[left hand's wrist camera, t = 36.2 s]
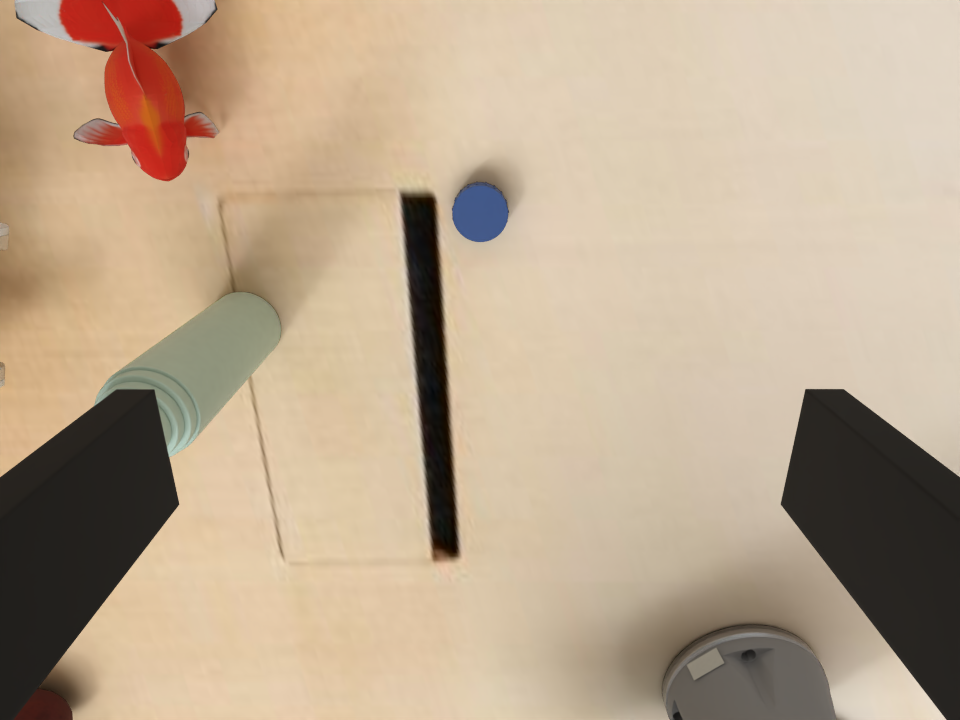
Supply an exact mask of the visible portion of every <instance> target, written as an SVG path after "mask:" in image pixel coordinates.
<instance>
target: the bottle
mask: <svg viewBox="0 0 960 720" xmlns="http://www.w3.org/2000/svg"><path fill="white" fill-rule="evenodd" d="M280 336H281V324H280V320H279V317H278V315H277V313H276V312H275V310H274V309H273V307H272V306H271V305H270V304H269V303H268V302H267V301H265V300H264V299H262V298H261V297H259V296H257V295H254V294H251V293H247V292H234V293H230V294H227V295H225V296H223V297H222V298H220V299H219V300H218V301H216V302H215V303H213V304H212V305H211V306H209V307H208V308H206V309H205V310H204V311H202V312H201V313H199V314H198V315H197V316H195V317H194V318H192V319H191V320H190V321H188V322H187V323H185V324H184V325H183V326H181V327H180V328H178V329H177V330H175V331H174V332H173V333H171V334H170V335H168V336H167V337H166V338H164V339H163V340H161V341H160V342H159V343H157V344H156V345H154V346H153V347H152V348H150V349H149V350H147V351H146V352H145V353H143V354H142V355H140V356H139V357H138V358H136V359H135V360H133V361H132V362H131V363H129V364H128V365H126V366H125V367H123V368H122V369H121V370H119V371H118V372H116V373H115V374H114V375H112V376H111V377H110V378H109V379H108V380H107V382H106V383H105V385H104V386H103V387H102V389H101V390H100V391H99V393H98V395H97V398H96V401H95V405H96V404H98V403H99V402H100V401H102V400H103V399H104V398H106V397H107V396H108V395H110V394H111V393H112V392H114V391H115V390H116V389H155V394H156V399H157V403H158V408H159V413H160V417H161V422H162V427H163V431H164V436H165V441H166V445H167V450H168V454H169V457H171V456H173V455H175V454H176V453H178V452H179V451H181V450H183V449H185V448H186V447H188V446H189V445H190V444H191V443H192V442H193V441H194V440H195V439H196V437H197V436H198V435H199V434H200V433H201V432H202V431H203V429H204V428H205V427H206V426H207V425H208V424H209V423H210V421H211V420H212V419H213V418H214V417H215V416H216V415H217V413H218V412H219V411H220V410H221V409H222V408H223V407H224V405H225V404H226V403H227V402H228V401H229V400H230V399H231V397H232V396H233V395H234V394H235V393H236V392H237V391H238V389H239V388H240V387H241V386H242V385H243V384H244V383H245V381H246V380H247V379H248V378H249V377H250V376H251V375H252V373H253V372H254V371H255V370H256V369H257V368H258V367H259V366H260V364H261V363H262V362H263V361H264V360H265V359H266V358H267V356H268V355H269V354H270V353H271V352H272V351H273V350H274V348H275V347H276V346H277V344H278V342H279V340H280ZM95 405H94V406H95Z"/></svg>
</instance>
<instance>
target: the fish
mask: <svg viewBox="0 0 960 720" xmlns="http://www.w3.org/2000/svg"><path fill="white" fill-rule="evenodd" d="M15 10H16V17H17V19H19V20H21V21H23V22H24V23H26V24H28V25H30V26H31V27H33V28H35V29H36V30H39V31H41V32H44V33H46V34H49V35H51V36H54V37H56V38H59V39H63V40H66V41H69V42H73V43H76V44H80V45H83V46H87V47H91V48H94V49H98V50H102V51H105V52H108V51H113V52H112V54H111V55H110V57H109V59H108V61H107V64H106V67H105V93H106V98H107V101H108V104H109V107H110V110H111V112H112V114H113V116H114V118H115V120H116V121H117V123H118V124H116V123H112V122H109V121H106V120H103V119H93V120H91V121H89V122H87V123H86V124H84V125H82V126H81V127H80V128H79V129H77V130H76V131H75V132H74V139H77V140H79V141H82V142H85V143H88V144H98V145H103V146H120V145H127V144H128V145H129V147H130V148H131V151H132V158H133V160H134V162H135V163H136V164H137V165H138V166H139V167H140V168H141V169H142V170H143V171H144V172H146V173H147V174H148V175H150V176H151V177H153V178H156V179H159V180H162V181H170V180H173V179H174V178H176V177H177V176H179V175H180V174H181V173H182V172H183V170H184V168H185V166H186V164H187V160H188V158H189V151H188V148H187V146H186V137H204V138H214V137H215V136H216V135H217V134H218V133H219V131H218V130H217V128H216V126H215V125H214V123H213V122H212V121H211V120H210V119H209V118H208V117H207V116H206V115H205V114H203V113H201V112H197V113H193V114H189V115H187V116H185V107H184V101H183V96H182V92H181V89H180V86H179V84H178V82H177V80H176V78H175V76H174V75H173V73H172V71H171V70H170V68H169V67H168V65H167V64H166V63H165V61H164V60H163V59H162V58H161V57H160V56H159V55H157V54H156V53H155V52H154V51H153V50H151V49H158V48H161V47H163V46H165V45H167V44H169V43H171V42H173V41H176V40H178V39H180V38H182V37H184V36H186V35H188V34H189V33H191V32H193V31H195V30H196V29H198V28H199V27H200V26H202V25H203V24H205V23H206V22H207V21H208V20H209V19H210V17H211V16H212V15H213V14H214V13H215V12H216V10H217V7H216V3H215V0H15ZM184 116H185V117H184Z"/></svg>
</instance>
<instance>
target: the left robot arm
mask: <svg viewBox="0 0 960 720" xmlns="http://www.w3.org/2000/svg"><path fill="white" fill-rule="evenodd" d="M178 505H179V501H178V496H177V492H176V487H175V482H174V478H173V473H172V468H171V464H170V459H169V454H168V450H167V445H166V441H165V436H164V431H163V427H162V422H161V417H160V413H159V408H158V403H157V399H156V394H155V389H116V390H115V391H114V392H112V393H111V394H110V395H108V396H107V397H106V398H104V399H103V400H102V401H100V402H99V403H98V404H96V405H95V406H94V407H92V408H91V409H90V410H88V411H87V412H86V413H84V414H83V415H82V416H81V417H79V418H78V419H77V420H75V421H74V422H73V423H71V424H70V425H69V426H67V427H66V428H65V429H63V430H62V431H61V432H59V433H58V434H57V435H55V436H54V437H53V438H52V439H50V440H49V441H48V442H46V443H45V444H44V445H42V446H41V447H40V448H38V449H37V450H36V451H34V452H33V453H32V454H30V455H29V456H28V457H26V458H25V459H24V460H22V461H21V462H20V463H19V464H17V465H16V466H15V467H13V468H12V469H11V470H9V471H8V472H7V473H5V474H4V475H3V476H1V477H0V720H14V718H15V717H16V716H17V714H18V713H19V712H20V711H21V709H22V708H23V707H24V705H25V704H26V703H27V701H28V700H29V699H30V698H31V696H32V695H33V694H34V692H35V691H36V690H37V688H38V687H39V686H40V685H41V683H42V682H43V681H44V679H45V678H46V677H47V675H48V674H49V673H50V672H51V670H52V669H53V668H54V666H55V665H56V664H57V662H58V661H59V660H60V659H61V657H62V656H63V655H64V653H65V652H66V651H67V649H68V648H69V647H70V646H71V644H72V643H73V642H74V640H75V639H76V638H77V637H78V635H79V634H80V633H81V631H82V630H83V629H84V627H85V626H86V625H87V624H88V622H89V621H90V620H91V618H92V617H93V616H94V614H95V613H96V612H97V611H98V609H99V608H100V607H101V605H102V604H103V603H104V601H105V600H106V599H107V598H108V596H109V595H110V594H111V592H112V591H113V590H114V588H115V587H116V586H117V585H118V583H119V582H120V581H121V579H122V578H123V577H124V575H125V574H126V573H127V572H128V570H129V569H130V568H131V566H132V565H133V564H134V562H135V561H136V560H137V559H138V557H139V556H140V555H141V553H142V552H143V551H144V549H145V548H146V547H147V546H148V544H149V543H150V542H151V540H152V539H153V538H154V537H155V535H156V534H157V533H158V531H159V530H160V529H161V527H162V526H163V525H164V524H165V522H166V521H167V520H168V518H169V517H170V516H171V514H172V513H173V512H174V511H175V509H176V508H177V507H178ZM781 505H782V507H783V508H784V509H785V511H786V512H787V513H788V514H789V516H790V517H791V518H792V520H793V521H794V522H795V524H796V525H797V526H798V527H799V529H800V530H801V531H802V533H803V534H804V535H805V537H806V538H807V539H808V540H809V542H810V543H811V544H812V546H813V547H814V548H815V549H816V551H817V552H818V553H819V555H820V556H821V557H822V559H823V560H824V561H825V562H826V564H827V565H828V566H829V568H830V569H831V570H832V572H833V573H834V574H835V575H836V577H837V578H838V579H839V581H840V582H841V583H842V585H843V586H844V587H845V588H846V590H847V591H848V592H849V594H850V595H851V596H852V598H853V599H854V600H855V601H856V603H857V604H858V605H859V607H860V608H861V609H862V611H863V612H864V613H865V614H866V616H867V617H868V618H869V620H870V621H871V622H872V624H873V625H874V626H875V627H876V629H877V630H878V631H879V633H880V634H881V635H882V637H883V638H884V639H885V640H886V642H887V643H888V644H889V646H890V647H891V648H892V649H893V651H894V652H895V653H896V655H897V656H898V657H899V659H900V660H901V661H902V662H903V664H904V665H905V666H906V668H907V669H908V670H909V672H910V673H911V674H912V675H913V677H914V678H915V679H916V681H917V682H918V683H919V685H920V686H921V687H922V688H923V690H924V691H925V692H926V694H927V695H928V696H929V698H930V699H931V700H932V701H933V703H934V704H935V705H936V707H937V708H938V709H939V711H940V712H941V713H942V714H943V716H944V717H945V718H946V720H960V477H959V476H957V475H956V474H955V473H953V472H952V471H951V470H949V469H948V468H947V467H945V466H944V465H943V464H941V463H940V462H939V461H938V460H936V459H935V458H934V457H932V456H931V455H930V454H928V453H927V452H926V451H924V450H923V449H922V448H920V447H919V446H918V445H916V444H915V443H914V442H912V441H911V440H910V439H908V438H907V437H906V436H905V435H903V434H902V433H901V432H899V431H898V430H897V429H895V428H894V427H893V426H891V425H890V424H889V423H887V422H886V421H885V420H883V419H882V418H881V417H879V416H878V415H877V414H876V413H874V412H873V411H872V410H870V409H869V408H868V407H866V406H865V405H864V404H862V403H861V402H860V401H858V400H857V399H856V398H854V397H853V396H852V395H850V394H849V393H848V392H846V391H845V390H844V389H805V394H804V399H803V403H802V408H801V413H800V417H799V422H798V427H797V431H796V436H795V441H794V445H793V450H792V454H791V459H790V464H789V468H788V473H787V478H786V482H785V487H784V492H783V496H782V501H781ZM662 695H663V701H664V704H665V707H666V710H667V713H668V717H669V719H670V720H836V716H835V711H834V707H833V702H832V698H831V694H830V689H829V684H828V680H827V677H826V675H825V672H824V670H823V668H822V666H821V664H820V662H819V661H818V659H817V657H816V656H815V654H814V652H813V651H812V650H811V648H810V647H809V646H808V645H807V644H806V643H805V642H804V641H803V640H802V639H800V638H799V637H797V636H796V635H794V634H792V633H790V632H788V631H785V630H782V629H779V628H775V627H771V626H763V625H743V626H735V627H729V628H725V629H722V630H718V631H715V632H713V633H710V634H708V635H706V636H704V637H702V638H700V639H698V640H696V641H695V642H693V643H692V644H690V645H689V646H688V647H686V648H685V649H684V650H683V651H682V652H681V653H680V654H679V655H678V656H677V657H676V658H675V659H674V660H673V662H672V663H671V665H670V666H669V668H668V670H667V672H666V674H665V677H664V681H663V687H662Z"/></svg>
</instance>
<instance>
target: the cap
mask: <svg viewBox="0 0 960 720" xmlns="http://www.w3.org/2000/svg"><path fill="white" fill-rule="evenodd" d="M454 201H455V203H454V206H453V208H452V210H453V221H454V224H455V226H456V228H457V230H458V231H459V232H460V234H462V235H463V236H464V237H465V238H467V239H469V240H472V241H475V242H485V241H489V240H492V239H494V238H495V237H497V236H498V235H499V234H500V233H501V232H502V231H503V229H504V227H505V226H506V223H507V219H508V213H509V211H508V208H507V201H506V199H505V198H504V196H503V195H502V192H500V191H499V190H498V189H497V188H496V187H495V186H493V185H491V184H488V183H487V182H485V183H483V182H476V183H473V184H470V185H469V184H468V185H467V186H466V187H465V188H463V189H462V190H460V193H459V194H458V195H457V197H455V200H454Z"/></svg>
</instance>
